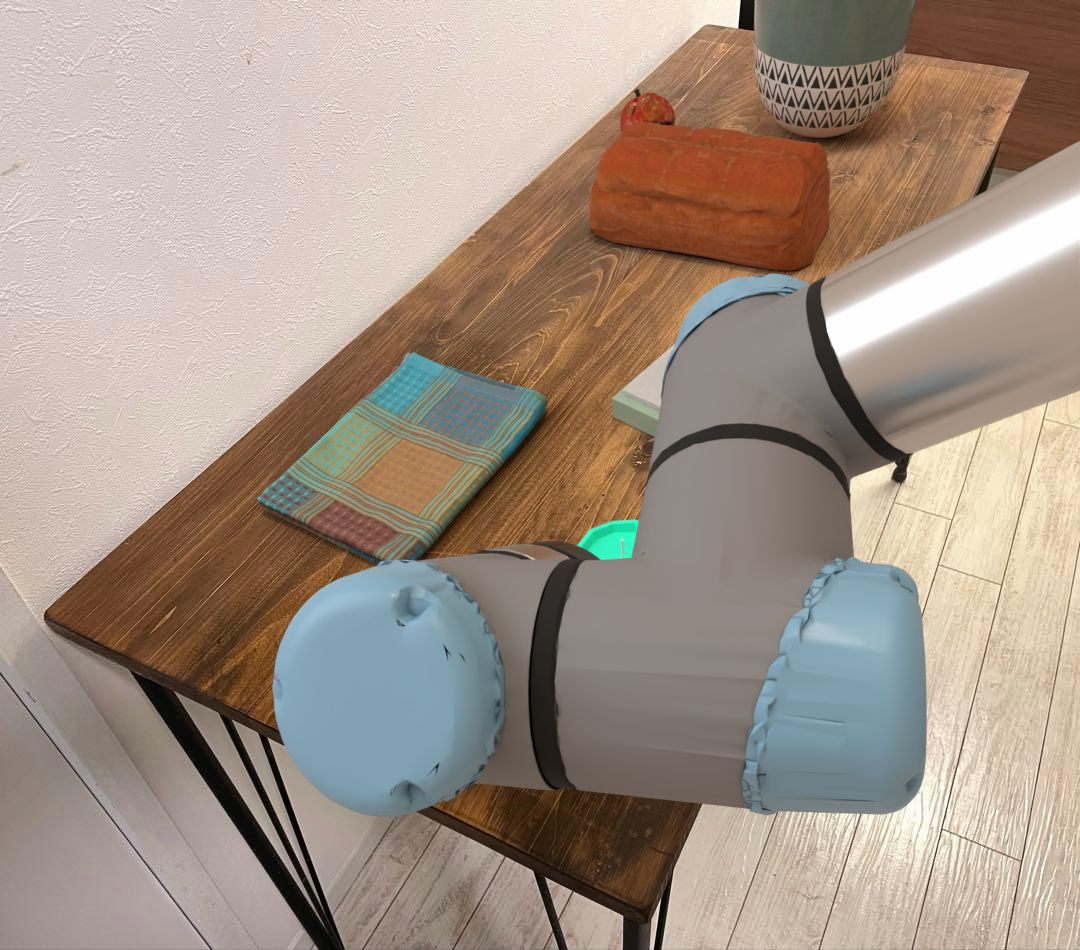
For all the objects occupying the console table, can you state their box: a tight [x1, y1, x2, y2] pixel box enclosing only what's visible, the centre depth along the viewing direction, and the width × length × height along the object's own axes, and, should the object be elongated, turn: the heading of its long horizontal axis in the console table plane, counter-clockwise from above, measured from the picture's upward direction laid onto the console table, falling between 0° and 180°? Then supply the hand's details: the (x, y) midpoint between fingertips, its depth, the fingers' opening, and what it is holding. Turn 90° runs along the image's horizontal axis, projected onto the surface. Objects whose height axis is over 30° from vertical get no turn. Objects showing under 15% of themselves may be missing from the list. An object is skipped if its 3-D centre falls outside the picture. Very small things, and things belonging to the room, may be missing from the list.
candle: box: [576, 519, 639, 560], centre depth 59 cm, size 6×6×12 cm
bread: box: [588, 121, 831, 271], centre depth 106 cm, size 16×27×11 cm, turn 64°
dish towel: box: [257, 351, 549, 566], centre depth 84 cm, size 17×23×2 cm
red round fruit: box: [619, 88, 676, 133], centre depth 124 cm, size 7×7×10 cm
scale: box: [611, 343, 675, 438], centre depth 86 cm, size 13×13×3 cm
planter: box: [753, 0, 918, 139], centre depth 118 cm, size 20×20×21 cm
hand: (640, 581), depth 63 cm, fingers closed on candle, 5 cm apart
